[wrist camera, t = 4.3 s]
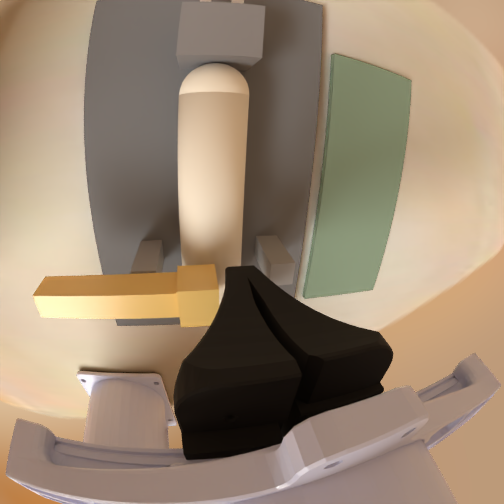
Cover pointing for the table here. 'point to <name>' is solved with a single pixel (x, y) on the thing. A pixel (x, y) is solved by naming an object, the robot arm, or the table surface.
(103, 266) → the mat
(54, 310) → the yellow bar
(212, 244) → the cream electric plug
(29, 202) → the table surface
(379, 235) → the felt pad
